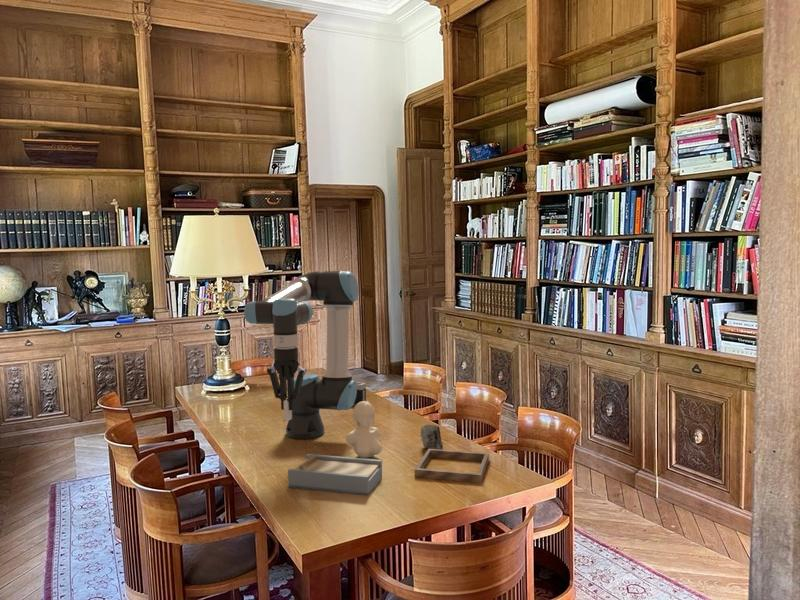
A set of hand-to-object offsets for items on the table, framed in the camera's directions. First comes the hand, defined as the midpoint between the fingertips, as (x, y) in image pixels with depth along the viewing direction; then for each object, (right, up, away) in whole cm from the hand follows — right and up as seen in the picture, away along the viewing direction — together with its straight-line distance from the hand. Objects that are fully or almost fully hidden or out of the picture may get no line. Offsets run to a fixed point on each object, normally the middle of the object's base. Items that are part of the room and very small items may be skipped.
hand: (288, 419), depth 199 cm
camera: (+14, -10, +96) cm, 98 cm away
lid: (+16, -16, -3) cm, 22 cm away
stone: (+48, -16, +28) cm, 58 cm away
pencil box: (+16, -19, -2) cm, 25 cm away
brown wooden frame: (+54, -18, +8) cm, 57 cm away
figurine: (+24, -17, +20) cm, 36 cm away
